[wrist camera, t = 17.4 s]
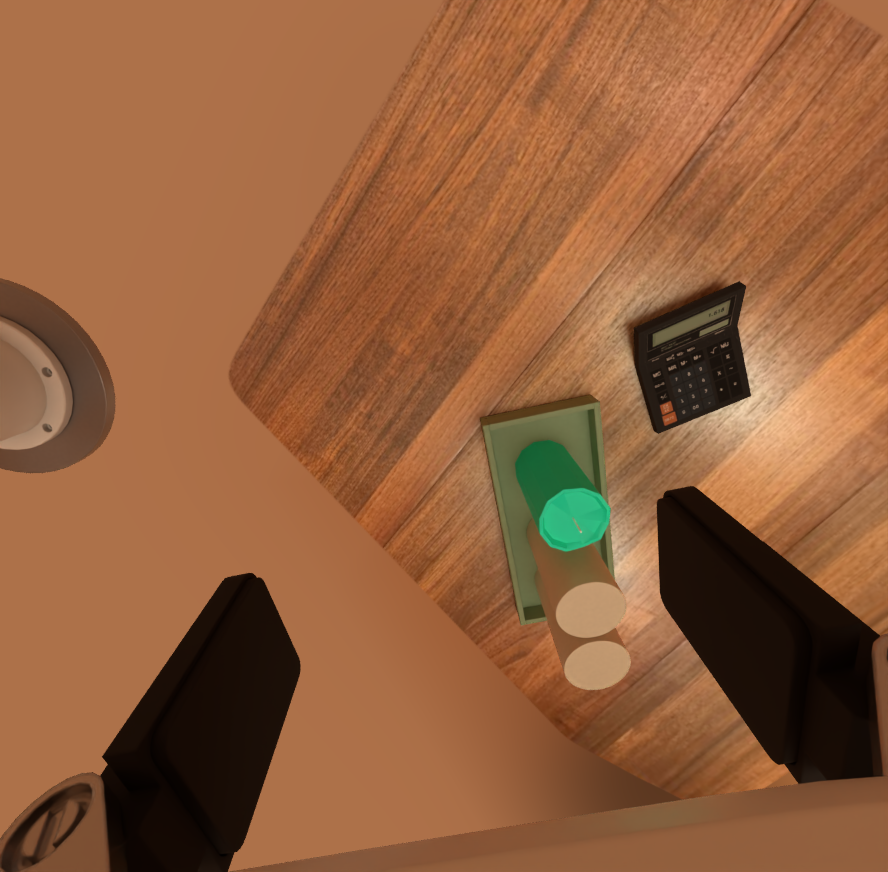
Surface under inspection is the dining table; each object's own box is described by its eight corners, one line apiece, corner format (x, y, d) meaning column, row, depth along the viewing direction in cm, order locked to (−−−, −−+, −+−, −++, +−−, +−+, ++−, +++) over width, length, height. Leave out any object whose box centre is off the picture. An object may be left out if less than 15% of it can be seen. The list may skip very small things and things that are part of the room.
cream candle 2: (537, 601, 50) (567, 695, 39) (531, 561, 48) (560, 647, 37) (587, 592, 50) (632, 683, 39) (583, 551, 48) (628, 635, 37)
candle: (509, 488, 45) (535, 560, 34) (520, 436, 43) (551, 494, 32) (564, 494, 45) (608, 567, 34) (578, 443, 43) (628, 502, 32)
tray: (516, 609, 51) (520, 625, 49) (479, 417, 43) (482, 426, 40) (608, 592, 51) (617, 608, 49) (590, 394, 42) (599, 401, 40)
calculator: (653, 430, 44) (669, 441, 41) (623, 325, 40) (637, 329, 37) (744, 393, 42) (767, 402, 40) (722, 281, 38) (745, 281, 36)
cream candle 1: (530, 557, 48) (559, 643, 37) (522, 513, 46) (551, 589, 35) (582, 547, 48) (628, 631, 37) (577, 502, 46) (624, 576, 35)
